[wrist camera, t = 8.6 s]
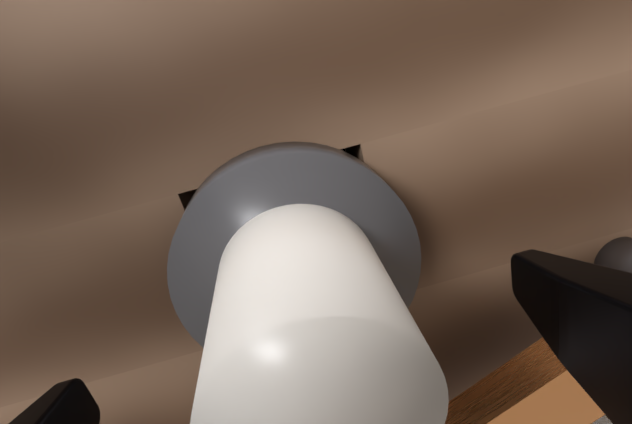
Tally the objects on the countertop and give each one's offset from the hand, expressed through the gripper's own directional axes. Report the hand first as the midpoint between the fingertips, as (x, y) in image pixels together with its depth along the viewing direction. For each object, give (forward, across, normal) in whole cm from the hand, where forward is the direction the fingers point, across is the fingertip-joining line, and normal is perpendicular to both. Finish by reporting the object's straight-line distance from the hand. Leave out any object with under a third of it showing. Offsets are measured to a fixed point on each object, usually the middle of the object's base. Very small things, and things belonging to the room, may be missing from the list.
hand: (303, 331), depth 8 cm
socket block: (+7, 0, 0) cm, 7 cm away
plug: (+7, 0, 0) cm, 7 cm away
